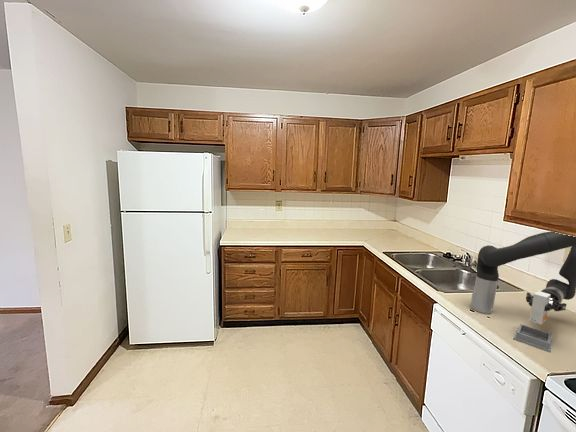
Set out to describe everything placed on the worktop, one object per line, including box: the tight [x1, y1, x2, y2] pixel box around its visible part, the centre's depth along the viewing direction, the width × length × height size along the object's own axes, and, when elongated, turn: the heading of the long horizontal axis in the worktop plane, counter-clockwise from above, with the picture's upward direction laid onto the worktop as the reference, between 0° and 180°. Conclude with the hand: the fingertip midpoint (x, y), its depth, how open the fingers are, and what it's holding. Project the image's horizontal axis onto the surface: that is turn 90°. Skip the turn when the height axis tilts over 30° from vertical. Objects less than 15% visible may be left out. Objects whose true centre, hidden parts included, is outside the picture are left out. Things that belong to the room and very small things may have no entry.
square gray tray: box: [513, 323, 553, 353], centre depth 128 cm, size 12×12×3 cm
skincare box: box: [529, 290, 551, 325], centre depth 125 cm, size 6×4×12 cm
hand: (538, 306), depth 124 cm, fingers closed on skincare box, 4 cm apart
